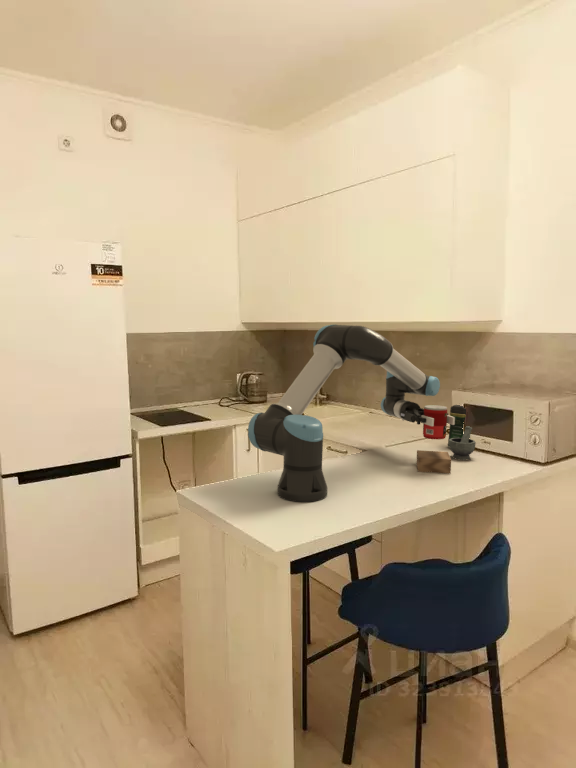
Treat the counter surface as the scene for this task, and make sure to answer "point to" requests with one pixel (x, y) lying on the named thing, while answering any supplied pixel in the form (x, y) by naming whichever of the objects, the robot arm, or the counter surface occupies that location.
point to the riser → (433, 461)
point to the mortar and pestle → (462, 445)
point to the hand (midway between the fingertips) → (443, 421)
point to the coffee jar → (457, 421)
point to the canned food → (435, 422)
